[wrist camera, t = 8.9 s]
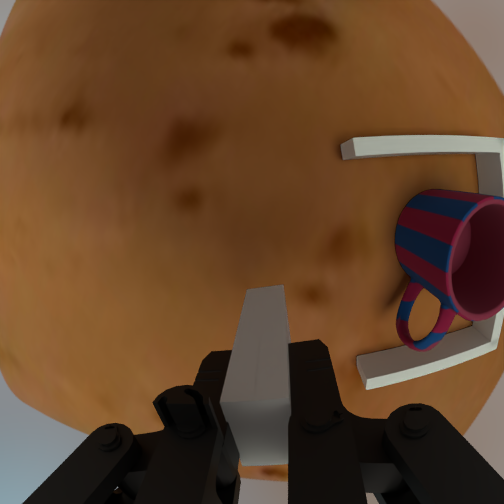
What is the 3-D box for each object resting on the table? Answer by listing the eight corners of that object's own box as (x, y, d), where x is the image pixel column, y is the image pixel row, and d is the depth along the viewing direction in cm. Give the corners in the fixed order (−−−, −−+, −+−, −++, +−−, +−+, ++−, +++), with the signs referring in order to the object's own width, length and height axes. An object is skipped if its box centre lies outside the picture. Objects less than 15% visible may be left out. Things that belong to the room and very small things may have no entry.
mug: (480, 230, 17) (539, 251, 11) (403, 331, 20) (442, 384, 13) (430, 168, 17) (492, 168, 10) (344, 282, 19) (375, 330, 12)
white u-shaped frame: (340, 144, 17) (352, 138, 14) (481, 141, 16) (505, 138, 13) (356, 366, 20) (366, 390, 17) (478, 332, 19) (496, 348, 16)
